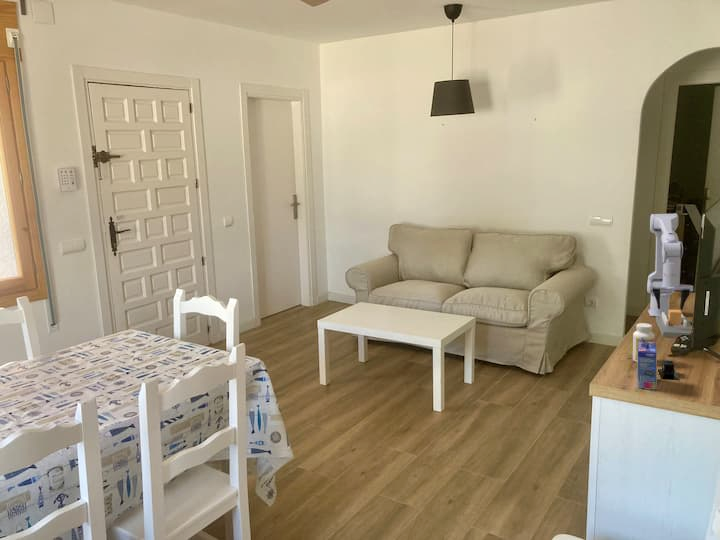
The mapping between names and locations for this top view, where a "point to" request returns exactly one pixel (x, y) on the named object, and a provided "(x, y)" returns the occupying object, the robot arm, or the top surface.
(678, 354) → the top surface
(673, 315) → the orange block
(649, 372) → the ink cartridge box
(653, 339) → the supplement bottle
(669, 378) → the black block
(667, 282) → the robot arm
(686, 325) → the channel deck
